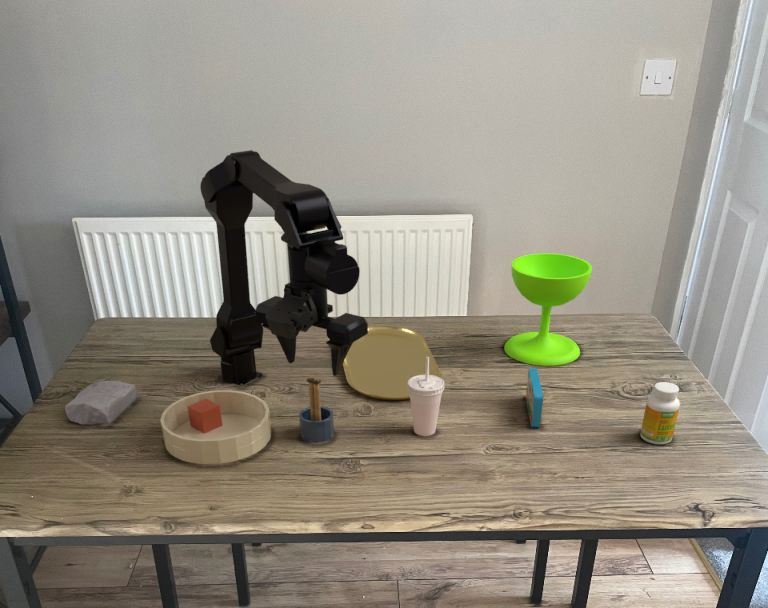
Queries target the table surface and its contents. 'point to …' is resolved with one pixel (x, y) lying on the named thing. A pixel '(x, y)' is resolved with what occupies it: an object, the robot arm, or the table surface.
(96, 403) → the stone block
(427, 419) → the smoothie
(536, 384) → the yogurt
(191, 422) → the block
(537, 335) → the wineglass
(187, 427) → the bowl
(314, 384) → the chopsticks
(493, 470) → the table surface
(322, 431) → the holder
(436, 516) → the table surface
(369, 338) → the serving platter
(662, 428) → the supplement bottle
